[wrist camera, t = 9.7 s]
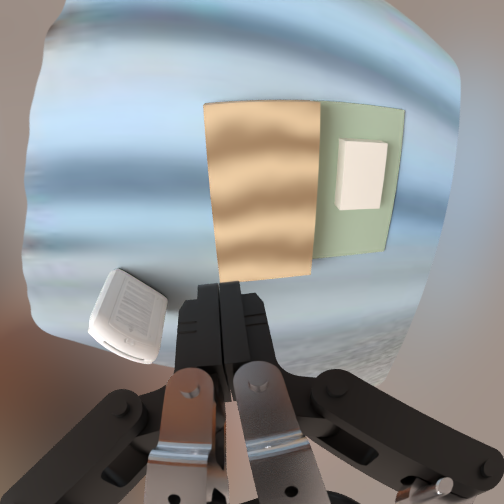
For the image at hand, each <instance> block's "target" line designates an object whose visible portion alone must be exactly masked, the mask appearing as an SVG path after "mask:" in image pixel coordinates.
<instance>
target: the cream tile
mask: <svg viewBox="0 0 504 504" xmlns="http://www.w3.org/2000/svg"><path fill="white" fill-rule="evenodd" d="M387 147H388V144H387V143H385V142H383V141H381V140H370V139H353V138H339V147H338V164H337V178H336V190H335V201H334V204H335V206H336V207H337V208H338V209H339V210H357V209H379V208H380V202H381V195H382V188H383V181H384V174H385V165H386V156H387Z"/></svg>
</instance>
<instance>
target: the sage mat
mask: <svg viewBox="0 0 504 504" xmlns="http://www.w3.org/2000/svg"><path fill="white" fill-rule="evenodd" d="M315 102H320V147H319V171H318V189H317V205H316V219H315V232H314V244H313V255H312V259H316V258H325V257H335V256H345V255H354V254H363V253H373V252H382V251H384V248H385V244H386V239H387V235H388V230H389V225H390V220H391V215H392V209H393V204H394V198H395V192H396V185H397V179H398V172H399V164H400V156H401V147H402V137H403V126H404V112H405V110H401V109H394V108H388V107H380V106H373V105H364V104H355V103H344V102H330V101H315ZM339 138H353V139H370V140H381V141H383V142H385V143H387V144H388V147H387V156H386V165H385V174H384V181H383V188H382V195H381V202H380V208H379V209H357V210H339V209H338V208H337V207H336V206H335V204H334V201H335V190H336V178H337V164H338V147H339Z"/></svg>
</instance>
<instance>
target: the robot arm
mask: <svg viewBox="0 0 504 504" xmlns="http://www.w3.org/2000/svg"><path fill="white" fill-rule="evenodd" d="M219 287H220V291H219ZM177 333H178V334H177V342H176V356H175V370H174V374H173V375H172V376H171V377H170V378H169V380H168V382H167V384H166V385H165V386H163V387H162V388H160V389H158V390H156V391H153V392H150V393H147V394H144V395H140V396H138V395H137V394H136V393H134V392H132V391H130V390H126V389H119V390H115V391H113V392H111V393H109V394H108V395H107V396H106V397H105V398H104V399H103V400H102V401H101V402H100V403H98V404H97V405H96V406H95V407H94V408H93V409H92V410H91V411H90V412H89V413H88V414H87V415H86V416H85V417H84V418H83V419H82V420H81V421H80V422H79V423H78V424H77V425H76V426H75V427H74V428H73V429H72V430H70V432H68V433H67V434H66V435H65V436H64V437H63V438H62V439H61V440H60V441H59V442H58V443H57V444H56V445H55V446H54V447H53V448H52V449H51V450H50V451H49V452H48V453H47V454H46V455H45V456H43V457H42V459H40V460H39V461H38V462H37V463H36V464H35V465H34V466H33V467H32V468H31V469H30V470H29V471H28V472H27V473H26V474H25V475H24V476H23V477H22V478H21V479H20V480H19V481H18V482H17V483H15V484H14V485H13V486H12V487H11V488H10V489H9V490H8V491H7V492H6V493H5V494H4V495H3V496H2V498H1V501H0V504H118V503H119V502H120V501H121V500H122V499H123V498H124V497H125V496H126V495H127V494H128V493H129V491H131V490H132V489H133V488H134V486H136V484H137V483H138V482H139V481H140V480H141V479H142V478H143V477H144V476H145V475H146V483H145V494H144V504H229V484H228V483H229V482H228V476H227V468H226V413H225V402H231V393H232V397H233V401H237V405H238V410H239V415H240V419H241V424H242V429H243V433H244V438H245V442H246V447H247V452H248V457H249V461H250V466H251V470H252V474H253V478H254V482H255V487H256V491H257V495H258V498H256V499H254V500H250V501H248V502H244V503H241V504H360V503H358V502H357V501H355V500H353V499H351V498H349V497H347V496H345V495H342V494H339V493H336V492H332V491H327V490H326V489H325V486H324V483H323V480H322V477H321V474H320V471H319V469H318V466H317V463H316V460H315V457H314V454H313V451H312V449H311V446H310V443H309V442H308V440H307V438H306V437H305V436H307V437H308V438H310V439H311V440H312V441H314V442H315V443H317V444H318V445H320V446H321V447H323V448H324V449H326V450H327V451H329V452H331V453H332V454H334V455H335V456H337V457H338V458H340V459H341V460H343V461H345V462H346V463H348V464H350V465H351V466H353V467H355V468H356V469H358V470H360V471H361V472H363V473H365V474H366V475H368V476H370V477H372V478H373V479H375V480H377V481H379V482H381V483H383V484H385V485H386V486H388V487H390V488H392V489H394V490H396V491H398V493H397V495H396V499H395V504H473V502H474V500H475V498H476V496H477V495H479V494H481V493H483V492H486V491H488V490H490V489H492V488H494V487H495V486H496V485H497V484H498V483H499V482H500V480H501V478H502V476H503V474H504V458H503V456H502V454H501V453H500V452H499V451H498V450H497V449H495V448H492V447H490V446H488V445H486V444H484V443H482V442H479V441H477V440H475V439H473V438H471V437H469V436H467V435H465V434H463V433H460V432H458V431H456V430H454V429H452V428H450V427H448V426H446V425H444V424H443V423H440V422H439V421H437V420H434V419H433V418H431V417H429V416H427V415H425V414H423V413H421V412H419V411H417V410H416V409H414V408H412V407H410V406H408V405H406V404H404V403H403V402H401V401H399V400H397V399H395V398H393V397H392V396H390V395H388V394H386V393H385V392H383V391H381V390H379V389H377V388H376V387H374V386H372V385H370V384H369V383H367V382H365V381H363V380H362V379H360V378H358V377H357V376H355V375H353V374H351V373H350V372H348V371H345V370H341V369H331V370H327V371H325V372H323V373H321V374H320V375H319V376H317V378H313V377H303V376H296V375H293V374H290V373H288V372H286V371H285V370H284V369H282V368H281V367H280V365H279V364H278V362H277V360H276V357H275V352H274V348H273V343H272V339H271V335H270V330H269V326H268V321H267V317H266V312H265V308H264V303H263V301H262V300H261V299H260V298H259V296H258V295H257V294H256V293H249V294H241V291H240V284H239V281H230V282H222V283H219V285H218V283H214V284H204V285H198V296H197V299H196V300H186V301H185V302H184V304H183V306H182V307H181V309H180V310H179V317H178V329H177ZM230 389H231V391H230Z"/></svg>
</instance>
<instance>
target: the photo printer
mask: <svg viewBox="0 0 504 504" xmlns="http://www.w3.org/2000/svg"><path fill="white" fill-rule="evenodd" d="M167 302H168V300H167V298H166V297H164V296H163V295H162V294H160V293H159V292H157V291H155V290H154V289H152V288H151V287H149V286H147V285H146V284H144V283H143V282H141V281H139V280H138V279H136V278H134V277H133V276H131V275H130V274H128V273H126V272H124V271H123V270H121V269H115V270H113V271H111V272H110V273H109V275H108V277H107V279H106V282H105V284H104V286H103V288H102V290H101V292H100V295H99V297H98V299H97V302H96V304H95V306H94V309H93V311H92V314H91V317H90V320H89V329H88V332H89V334H90V335H91V336H92V337H93V338H94V339H95V340H96V341H98V342H99V343H100V344H101V345H103V346H104V347H106V348H107V349H109V350H110V351H112V352H114V353H115V354H117V355H119V356H122V357H124V358H126V359H129V360H132V361H135V362H139V363H145V364H151V363H152V362H153V361H154V360H155V359H156V357H157V355H158V353H159V350H160V346H161V339H162V332H163V326H164V320H165V314H166V308H167Z"/></svg>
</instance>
